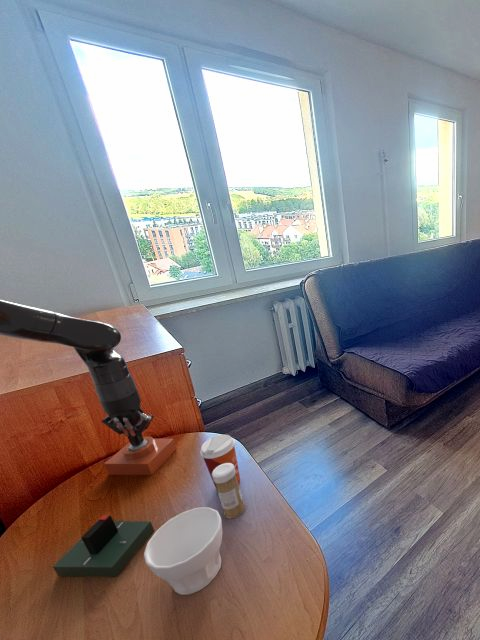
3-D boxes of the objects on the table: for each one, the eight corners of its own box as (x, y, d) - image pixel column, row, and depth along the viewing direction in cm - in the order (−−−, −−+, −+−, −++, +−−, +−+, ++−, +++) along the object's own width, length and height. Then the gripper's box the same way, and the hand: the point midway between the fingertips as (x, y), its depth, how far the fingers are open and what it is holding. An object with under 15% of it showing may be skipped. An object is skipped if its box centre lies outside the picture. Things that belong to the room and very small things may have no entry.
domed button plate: (108, 474, 92) (101, 458, 90) (138, 448, 101) (131, 432, 99) (151, 475, 92) (145, 458, 90) (177, 449, 101) (171, 433, 99)
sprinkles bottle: (248, 502, 84) (237, 461, 79) (239, 519, 80) (227, 477, 75) (230, 503, 84) (218, 462, 79) (220, 520, 79) (207, 477, 75)
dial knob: (97, 554, 69) (88, 536, 67) (89, 554, 69) (80, 536, 67) (118, 531, 74) (110, 514, 72) (111, 531, 74) (103, 514, 72)
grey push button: (127, 455, 93) (125, 449, 92) (138, 444, 97) (136, 439, 96) (141, 455, 93) (139, 449, 92) (152, 444, 97) (150, 439, 96)
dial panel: (58, 576, 68) (51, 566, 66) (102, 530, 77) (98, 520, 76) (116, 577, 68) (111, 566, 66) (154, 530, 77) (150, 520, 76)
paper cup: (234, 497, 85) (223, 454, 80) (205, 496, 85) (191, 454, 80) (250, 473, 93) (240, 432, 88) (223, 472, 93) (211, 432, 88)
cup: (201, 613, 62) (185, 574, 58) (143, 600, 64) (125, 562, 60) (245, 547, 73) (235, 511, 69) (195, 538, 75) (183, 502, 71)
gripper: (79, 400, 84) (103, 453, 91) (130, 400, 84) (151, 454, 91) (105, 384, 91) (126, 435, 98) (153, 384, 91) (170, 435, 98)
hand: (138, 444), depth 94 cm, fingers closed
